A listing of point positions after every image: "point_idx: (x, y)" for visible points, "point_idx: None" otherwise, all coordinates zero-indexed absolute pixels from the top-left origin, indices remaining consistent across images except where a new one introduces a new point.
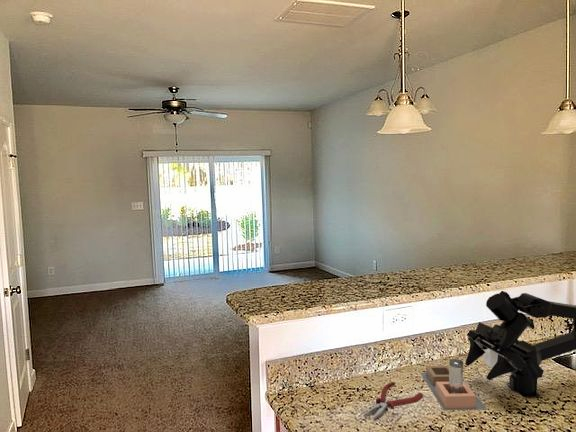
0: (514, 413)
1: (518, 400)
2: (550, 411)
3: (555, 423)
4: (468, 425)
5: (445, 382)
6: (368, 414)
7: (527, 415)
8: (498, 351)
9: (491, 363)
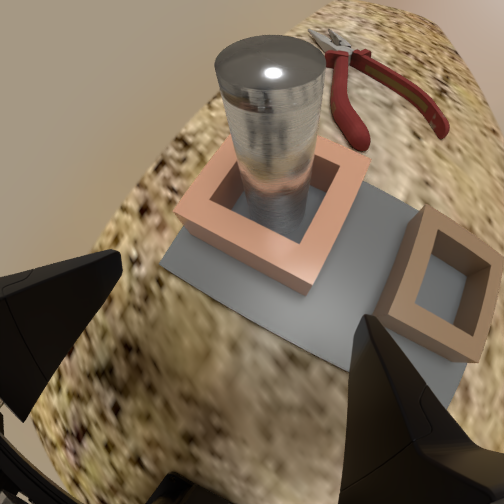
0: (112, 350)
1: (158, 451)
2: (75, 446)
3: None
4: (165, 160)
5: (349, 188)
6: (331, 36)
7: (87, 372)
8: (7, 467)
9: None
